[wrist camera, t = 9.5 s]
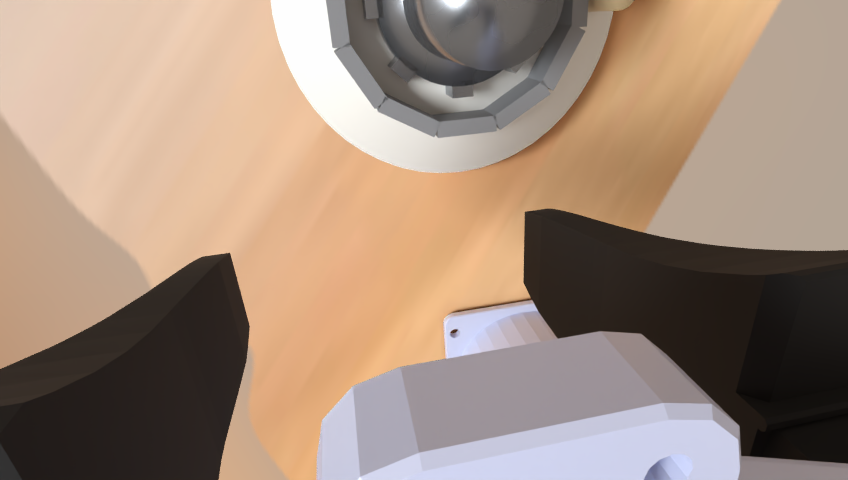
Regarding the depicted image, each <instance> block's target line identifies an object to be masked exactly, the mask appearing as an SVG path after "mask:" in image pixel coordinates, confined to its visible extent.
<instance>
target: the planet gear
mask: <svg viewBox="0 0 848 480" xmlns="http://www.w3.org/2000/svg"><path fill="white" fill-rule="evenodd" d="M563 3H564V0H362V5H363V14H364V19H375V18H376V21H377V24H378V28H379V31H380V33H381V35H382V38H383V40H384V42H385V43H386V45H387V47H388V49H389V50H390V51H391V53H392V54H393V55H394V58H393V59H392V60H391V61H390V63H389V64H388V65H387V66H388V67H389V68H390V69H391V70H393V71H394V72H395V73H396V74H397V75H398V76H399V77H400V78H402V79H403V80H404V81H405V82H407V83H409V81H410V80H411V79H412V78H413V76H414V75H415V74H416V75H418V76H420V77H421V78H423V79H425V80H428V81H430V82H432V83H436V84H439V85H443V86H445V89H446V95H448V96H450V97H451V98H463V97H473V96H474V94H473V85H474V84H477V83H480V82H483V81H485V80H487V79H489V78H492V77H493V76H495V75H496V74H498V73H500V72H501V71H502V70H505V71H508V72H512V73H517V71H518V70H519V69H520V68H521V67H522V66H523V64H524V63H525V62H526V61H527V60H528V59H529V58H530V57H531V56H533V55H534V54H535V53H536V52H537V51H538V50H539V49H540V48H541V47H542V46H543V45H544V44H545V43H546V41H547V40H548V39H549V37H550V36H551V34H552V32H553V31H554V29H555V27H556V25H557V22H558V20H559V17H560V14H561V11H562V8H563Z"/></svg>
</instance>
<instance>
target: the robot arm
mask: <svg viewBox="0 0 848 480" xmlns="http://www.w3.org/2000/svg"><path fill="white" fill-rule="evenodd" d="M524 284H525V286H526V288H527V290H528V293H529V295H530V297H531V299H532V300H529V301H523V302H517V303H511V304H505V305H499V306H492V307H486V308H480V309H474V310H468V311H462V312H456V313H451V314H449V315H447V316H446V317H445V319H444V322H443V325H444V341H445V356H446V359H442V360H436V361H431V362H425V363H419V364H414V365H408V366H403V367H399V368H396V369H394V370H391V371H389V372H386V373H384V374H381V375H379V376H376V377H374V378H372V379H369V380H367V381H364V382H362V383H359V384H357V385H354V386H352V388H351V389H350V390H349V391H348V392H347V393H346V394H345V395H344V396H343V398H342V399H341V400H340V401H339V402H338V403H337V404H336V405H335V406H334V407H333V409H332V410H331V411H330V412H329V413H328V414H327V415H326V416H325V417H324V418H323V420H322V426H321V433H320V440H319V447H318V454H317V480H848V250H839V251H787V250H763V249H747V248H736V247H726V246H715V245H707V244H700V243H694V242H688V241H682V240H675V239H670V238H665V237H659V236H655V235H651V234H647V233H643V232H639V231H634V230H630V229H627V228H623V227H619V226H615V225H612V224H608V223H605V222H601V221H598V220H594V219H591V218H587V217H584V216H580V215H577V214H573V213H569V212H565V211H561V210H556V209H542V210H535V211H528V212H525V237H524ZM249 327H250V326H249V322H248V319H247V315H246V311H245V307H244V304H243V300H242V296H241V292H240V289H239V285H238V281H237V277H236V274H235V270H234V266H233V262H232V259H231V255H230V253H226V254H219V255H212V256H205V257H201V258H199V259H197V260H195V261H193V262H192V263H190V264H188V265H187V266H185V267H184V268H182V269H181V270H179V271H178V272H176V273H175V274H173V275H172V276H170V277H169V278H168V279H166V280H165V281H163V282H162V283H160V284H159V285H157V286H156V287H154V288H153V289H152V290H150V291H149V292H147V293H146V294H144V295H143V296H141V297H140V298H138V299H136V300H135V301H133V302H131V303H130V304H128V305H127V306H125V307H124V308H122V309H120V310H119V311H117V312H116V313H114V314H112V315H111V316H109V317H107V318H106V319H104V320H102V321H101V322H99V323H97V324H95V325H93V326H92V327H90V328H88V329H86V330H84V331H83V332H80V333H78V334H76V335H74V336H72V337H71V338H69V339H67V340H65V341H63V342H61V343H59V344H56V345H54V346H52V347H50V348H48V349H45V350H43V351H41V352H39V353H36V354H34V355H32V356H30V357H27V358H25V359H23V360H20V361H18V362H16V363H14V364H11V365H9V366H7V367H4V368H2V369H0V480H218V479H219V471H220V465H221V459H222V454H223V450H224V445H225V441H226V437H227V433H228V429H229V425H230V422H231V418H232V414H233V410H234V407H235V403H236V399H237V395H238V391H239V388H240V384H241V380H242V376H243V372H244V368H245V364H246V359H247V350H248V339H249ZM454 329H458V331H457V332H456V333H450V332H451V331H452V330H454Z"/></svg>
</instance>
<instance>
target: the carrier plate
mask: <svg viewBox="0 0 848 480" xmlns="http://www.w3.org/2000/svg"><path fill="white" fill-rule="evenodd" d="M633 1H634V0H564V3H563V8H562V11H561V14H560V17H559V20H558V22H557V25H556V27H555V29H554V31H553V32H552V34H551V36H550V37H549V39H548V40H547V41H546V43H545V44H544V45H543V46H542V47H541V48H540V49H539V50H538V51H537V52H536V53H535V54H534V55H533V56H531V57H530V58H529V59H528V60H527V61H526V62H525V63H524V64H523V66H522V67H521V68H520V69H519V70H518V71H517V73H512V72H508V71H505V70H502V71H501V72H500V73H498V74H496V75H495V76H493V77H492V78H489V79H487V80H485V81H483V82H480V83H477V84H474V85H473V94H474V96H473V97H463V98H451V97H450V96H448V95H446V89H445V86H443V85H439V84H436V83H432V82H430V81H428V80H425V79H423V78H421V77H420V76H418V75H416V74H415V75H414V76H413V78H412V79H411V80H410V81H409V83H407V82H405V81H404V80H403V79H402V78H400V77H399V76H398V75H397V74H396V73H395V72H394V71H393V70H391V69H390V68H389V67H388V66H387V65H388V64H389V63H390V61H391V60H392V59H393V58H394V55H393V54H392V53H391V51H390V50H389V49H388V47H387V45H386V43H385V42H384V40H383V38H382V35H381V33H380V31H379V28H378V24H377V21H376V18H375V19H364V14H363V5H362V0H271V6H272V14H273V19H274V23H275V27H276V31H277V35H278V39H279V43H280V45H281V48H282V51H283V53H284V56H285V59H286V61H287V64H288V66H289V68H290V70H291V72H292V74H293V76H294V78H295V80H296V82H297V84H298V86H299V88H300V89H301V91H302V92H303V93H304V95H305V96H306V98H307V99H308V101H309V102H310V104H311V105H312V107H313V108H314V109H315V110H316V111H317V112H318V114H319V115H320V116H321V117H322V118H323V119H324V120H325V121H326V123H327V124H328V125H329V126H330V127H332V128H333V129H334V130H335V131H336V132H337V133H338V134H339V135H341V136H342V137H343V138H344V139H345V140H347V141H348V142H350V143H351V144H353V145H354V146H356V147H357V148H359V149H360V150H361V151H363V152H365V153H367V154H369V155H371V156H373V157H375V158H377V159H379V160H381V161H383V162H386V163H389V164H392V165H395V166H398V167H401V168H405V169H410V170H415V171H420V172H433V173H450V172H462V171H467V170H473V169H478V168H481V167H485V166H488V165H491V164H494V163H497V162H499V161H501V160H504V159H506V158H508V157H510V156H512V155H514V154H516V153H518V152H520V151H521V150H523V149H524V148H526V147H528V146H529V145H531V144H532V143H534V142H535V141H536V140H538V139H539V138H540V137H541V136H543V135H544V134H545V133H546V132H548V131H549V130H550V129H551V128H552V127H553V126H554V125H555V124H556V123H557V122H558V121H559V120H560V119H561V118H562V117H563V116H564V115H565V113H566V112H567V111H568V110H569V108H570V107H571V106H572V105H573V103H574V102H575V101H576V100H577V98H578V97H579V95H580V94H581V92H582V90H583V89H584V87H585V86H586V84H587V82H588V81H589V79H590V77H591V75H592V73H593V71H594V69H595V67H596V65H597V63H598V61H599V58H600V56H601V53H602V50H603V47H604V45H605V42H606V39H607V36H608V32H609V28H610V24H611V20H612V16H613V11H620V10H623V9H626V8H627V7H628V6H630V5H631V4H632V3H633Z"/></svg>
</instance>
